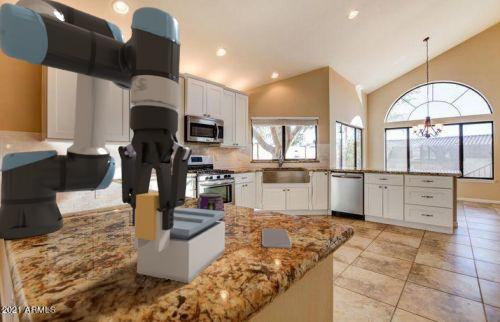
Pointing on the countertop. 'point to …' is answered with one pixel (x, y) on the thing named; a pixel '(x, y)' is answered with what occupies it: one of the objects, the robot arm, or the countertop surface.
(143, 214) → the lid
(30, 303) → the countertop surface
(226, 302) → the countertop surface
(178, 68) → the robot arm
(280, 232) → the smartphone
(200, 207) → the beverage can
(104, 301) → the countertop surface
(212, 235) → the tub
